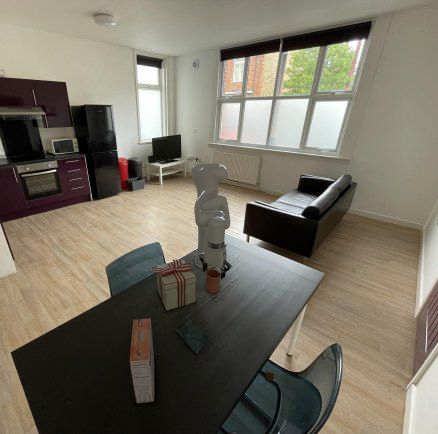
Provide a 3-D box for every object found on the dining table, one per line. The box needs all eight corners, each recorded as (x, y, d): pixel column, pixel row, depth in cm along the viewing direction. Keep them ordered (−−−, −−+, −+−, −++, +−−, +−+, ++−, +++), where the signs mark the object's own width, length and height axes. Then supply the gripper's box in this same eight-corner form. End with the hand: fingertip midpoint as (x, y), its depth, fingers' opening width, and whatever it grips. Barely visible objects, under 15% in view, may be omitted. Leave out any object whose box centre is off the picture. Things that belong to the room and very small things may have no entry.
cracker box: (137, 360, 86) (132, 318, 77) (154, 359, 86) (151, 317, 77) (134, 404, 73) (128, 360, 64) (154, 402, 73) (150, 358, 64)
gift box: (180, 278, 126) (180, 250, 119) (198, 301, 111) (199, 272, 104) (150, 288, 120) (148, 259, 112) (164, 314, 104) (163, 283, 97)
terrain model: (211, 342, 92) (211, 338, 91) (196, 354, 88) (196, 351, 87) (188, 321, 101) (188, 318, 100) (174, 332, 97) (174, 328, 96)
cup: (202, 288, 119) (203, 274, 115) (209, 281, 124) (210, 267, 120) (214, 294, 115) (215, 280, 111) (221, 287, 120) (222, 272, 116)
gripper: (236, 245, 106) (233, 277, 113) (203, 234, 116) (202, 264, 122) (229, 253, 100) (226, 285, 107) (195, 240, 110) (194, 271, 117)
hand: (213, 274), depth 115 cm, fingers open, 9 cm apart
